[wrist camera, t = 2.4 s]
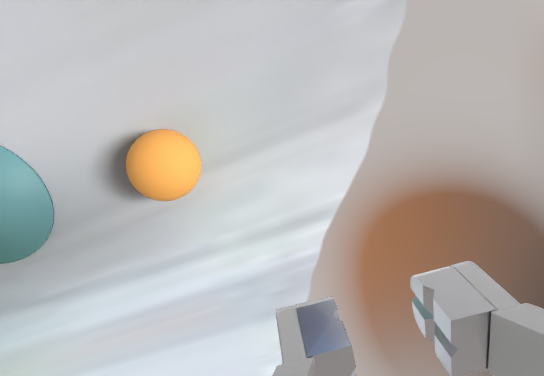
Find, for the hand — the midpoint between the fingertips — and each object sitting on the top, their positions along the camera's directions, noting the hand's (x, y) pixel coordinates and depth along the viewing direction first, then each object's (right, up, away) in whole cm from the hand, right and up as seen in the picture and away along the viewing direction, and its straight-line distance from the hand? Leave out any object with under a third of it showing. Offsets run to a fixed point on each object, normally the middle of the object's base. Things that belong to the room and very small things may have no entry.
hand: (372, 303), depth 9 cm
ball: (-11, +5, +17) cm, 21 cm away
